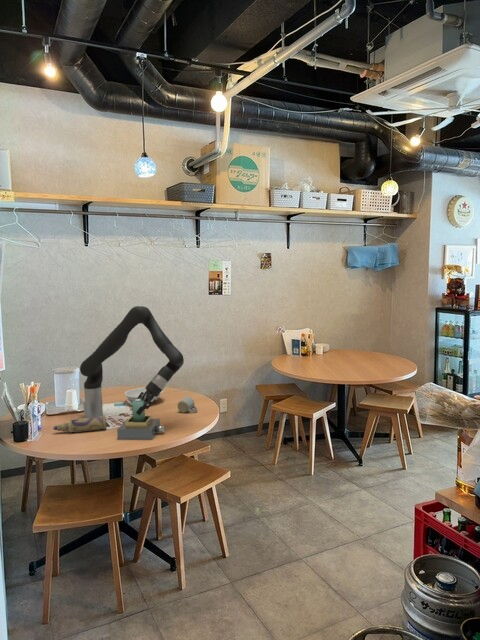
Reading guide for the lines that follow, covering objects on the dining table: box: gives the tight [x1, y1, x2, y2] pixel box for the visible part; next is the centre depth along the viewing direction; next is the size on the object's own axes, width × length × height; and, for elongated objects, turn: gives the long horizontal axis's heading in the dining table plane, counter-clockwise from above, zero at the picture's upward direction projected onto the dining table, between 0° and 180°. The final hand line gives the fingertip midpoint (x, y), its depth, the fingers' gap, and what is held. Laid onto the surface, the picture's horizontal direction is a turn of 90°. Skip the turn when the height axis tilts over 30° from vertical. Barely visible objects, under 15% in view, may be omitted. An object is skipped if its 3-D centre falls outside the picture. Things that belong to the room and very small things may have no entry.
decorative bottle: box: [52, 415, 107, 433], centre depth 238 cm, size 26×8×7 cm, turn 104°
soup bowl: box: [123, 386, 164, 402], centre depth 288 cm, size 24×24×7 cm
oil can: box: [126, 399, 146, 422], centre depth 230 cm, size 9×6×12 cm
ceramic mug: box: [177, 396, 198, 414], centre depth 267 cm, size 11×8×8 cm
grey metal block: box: [116, 415, 166, 440], centre depth 232 cm, size 21×16×8 cm
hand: (135, 412), depth 230 cm, fingers closed on oil can, 6 cm apart
